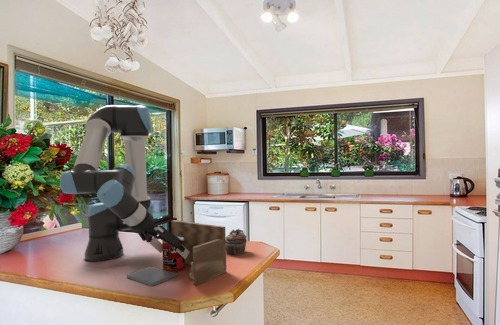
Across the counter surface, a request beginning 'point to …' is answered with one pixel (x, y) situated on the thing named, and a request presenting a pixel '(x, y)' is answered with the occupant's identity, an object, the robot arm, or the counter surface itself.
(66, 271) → the counter surface
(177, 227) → the walnut rack
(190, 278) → the offcut stack
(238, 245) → the cupcake
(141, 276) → the slate tile
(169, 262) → the canned food
